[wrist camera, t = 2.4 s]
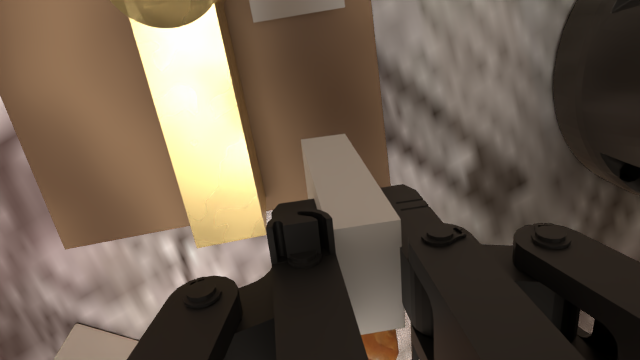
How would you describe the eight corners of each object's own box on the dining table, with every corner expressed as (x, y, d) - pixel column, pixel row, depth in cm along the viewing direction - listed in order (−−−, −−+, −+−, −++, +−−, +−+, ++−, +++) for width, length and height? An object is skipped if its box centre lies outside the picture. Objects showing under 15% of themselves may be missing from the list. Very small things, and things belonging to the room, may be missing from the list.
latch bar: (109, -83, 18) (69, -105, 14) (218, -99, 18) (207, -126, 15) (194, 211, 23) (180, 251, 19) (279, 195, 23) (282, 231, 20)
